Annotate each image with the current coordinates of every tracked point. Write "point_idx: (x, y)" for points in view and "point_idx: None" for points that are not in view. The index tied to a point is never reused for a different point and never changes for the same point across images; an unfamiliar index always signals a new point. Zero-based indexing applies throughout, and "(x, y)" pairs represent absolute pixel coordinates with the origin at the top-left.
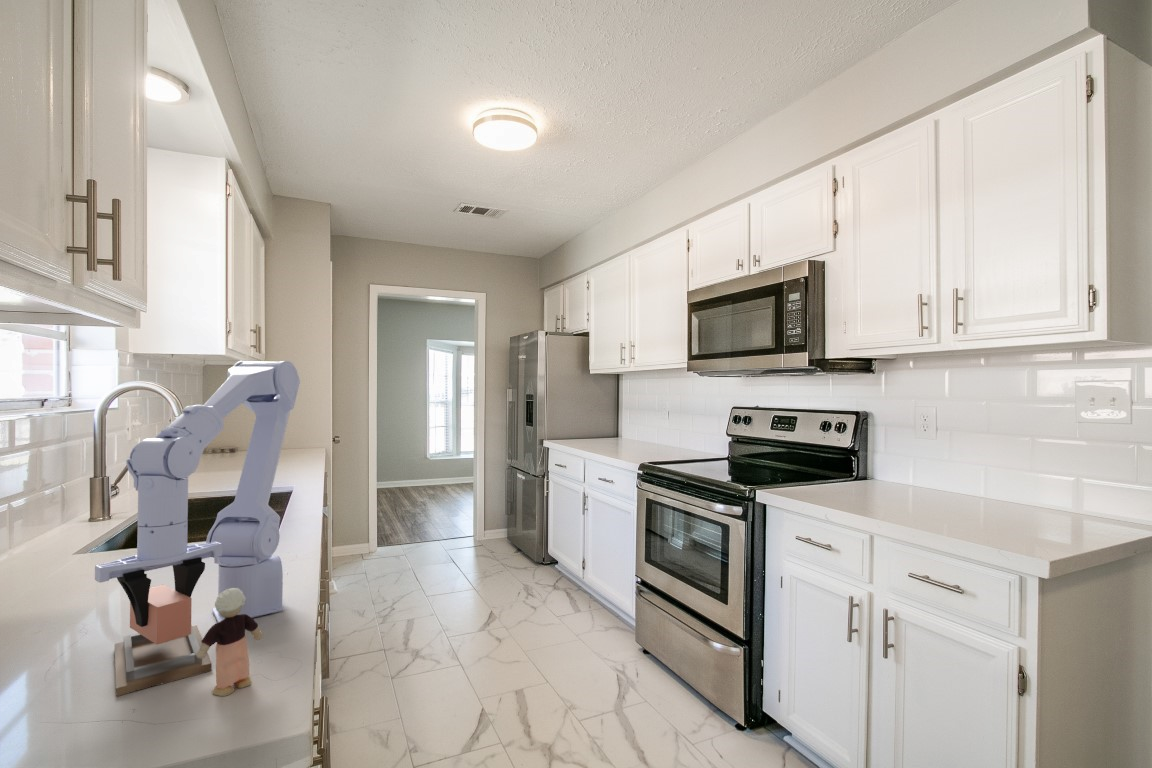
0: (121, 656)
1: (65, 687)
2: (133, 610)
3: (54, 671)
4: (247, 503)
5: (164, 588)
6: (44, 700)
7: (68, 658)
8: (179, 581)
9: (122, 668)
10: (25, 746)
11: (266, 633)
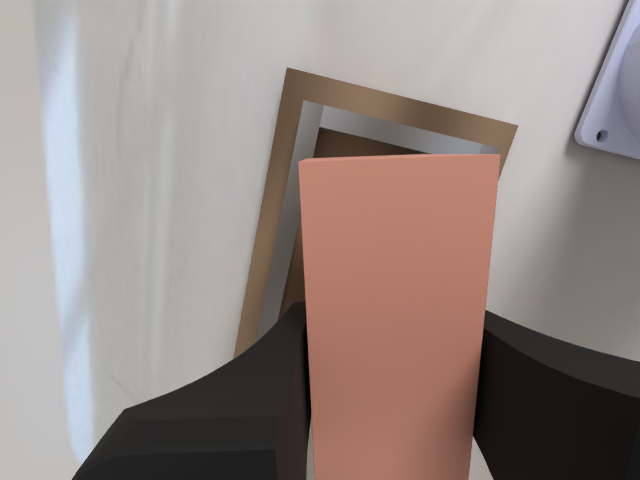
0: (276, 207)
1: (155, 242)
2: (277, 321)
3: (138, 98)
4: None
5: (465, 256)
6: (115, 279)
7: (176, 11)
8: (519, 439)
9: (260, 294)
10: (90, 443)
11: (598, 313)
